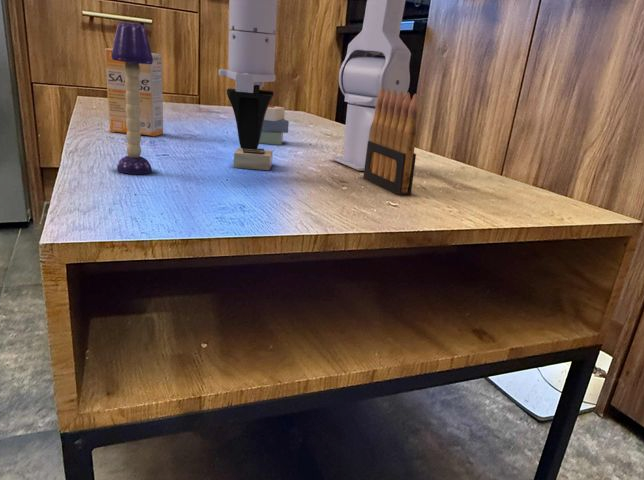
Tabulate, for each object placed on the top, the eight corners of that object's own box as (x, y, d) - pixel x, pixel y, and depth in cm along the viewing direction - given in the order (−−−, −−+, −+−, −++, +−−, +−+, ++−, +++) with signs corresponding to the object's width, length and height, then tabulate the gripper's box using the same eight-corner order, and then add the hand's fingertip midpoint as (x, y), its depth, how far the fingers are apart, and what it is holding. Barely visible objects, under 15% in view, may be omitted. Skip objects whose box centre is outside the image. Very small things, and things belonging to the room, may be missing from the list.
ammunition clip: (362, 177, 85) (373, 86, 80) (374, 177, 86) (385, 87, 80) (398, 195, 76) (412, 93, 71) (411, 195, 77) (426, 94, 72)
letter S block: (269, 170, 84) (269, 154, 83) (233, 167, 84) (234, 150, 83) (272, 164, 89) (272, 148, 88) (238, 161, 88) (238, 145, 87)
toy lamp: (149, 167, 79) (143, 24, 71) (162, 174, 76) (157, 25, 68) (113, 168, 76) (102, 20, 69) (124, 175, 73) (114, 21, 66)
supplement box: (108, 132, 104) (102, 47, 98) (121, 129, 108) (116, 48, 102) (153, 137, 103) (150, 52, 97) (164, 134, 107) (162, 52, 101)
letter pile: (286, 146, 106) (288, 108, 103) (247, 142, 106) (248, 105, 103) (288, 141, 112) (290, 105, 110) (251, 137, 112) (252, 102, 109)
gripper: (228, 31, 79) (226, 138, 85) (209, 27, 66) (209, 154, 72) (281, 36, 80) (276, 143, 86) (272, 33, 67) (267, 159, 73)
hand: (249, 148), depth 79 cm, fingers closed
